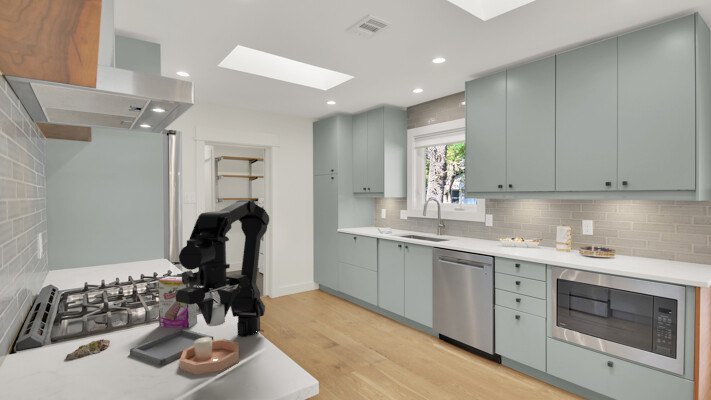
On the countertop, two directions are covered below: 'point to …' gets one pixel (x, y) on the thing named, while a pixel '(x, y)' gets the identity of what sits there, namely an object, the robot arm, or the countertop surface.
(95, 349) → the mineral rock
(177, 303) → the candy bar box
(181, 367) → the bowl
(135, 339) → the countertop surface
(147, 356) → the tray
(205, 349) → the pebble sand
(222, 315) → the pebble grey
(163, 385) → the countertop surface
